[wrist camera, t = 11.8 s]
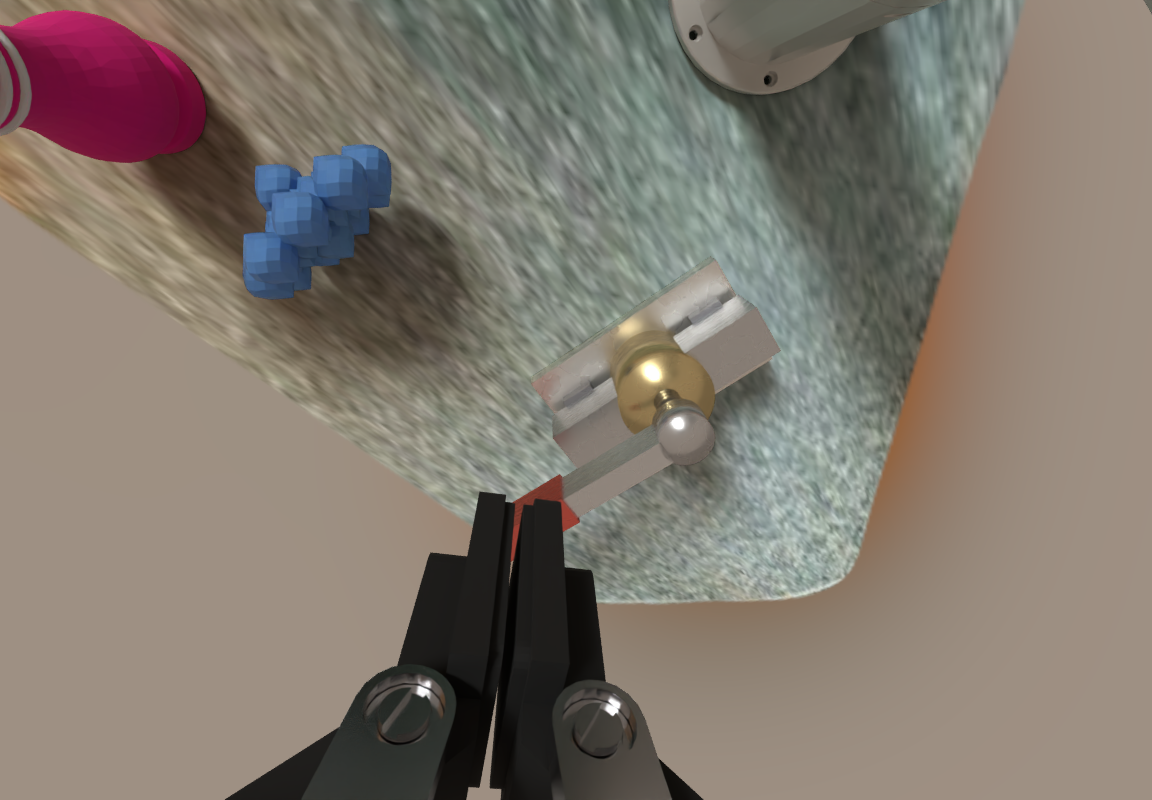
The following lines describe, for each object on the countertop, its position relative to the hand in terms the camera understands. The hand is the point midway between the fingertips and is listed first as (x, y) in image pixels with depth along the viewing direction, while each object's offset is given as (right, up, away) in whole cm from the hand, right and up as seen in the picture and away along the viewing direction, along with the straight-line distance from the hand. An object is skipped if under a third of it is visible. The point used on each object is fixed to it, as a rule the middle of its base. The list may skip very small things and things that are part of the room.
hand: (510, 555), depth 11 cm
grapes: (-14, +16, +26) cm, 34 cm away
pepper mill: (-25, +22, +23) cm, 40 cm away
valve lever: (+2, -1, +24) cm, 24 cm away
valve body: (+7, +6, +32) cm, 33 cm away
